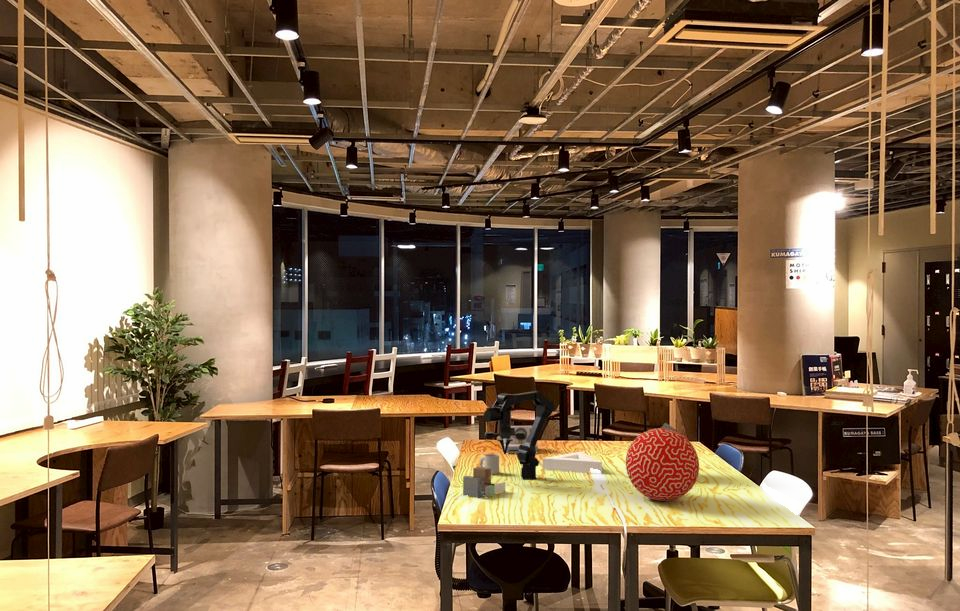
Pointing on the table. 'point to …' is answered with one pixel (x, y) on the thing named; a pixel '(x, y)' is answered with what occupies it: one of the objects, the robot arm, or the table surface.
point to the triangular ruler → (572, 462)
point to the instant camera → (517, 442)
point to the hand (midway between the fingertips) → (504, 454)
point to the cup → (491, 462)
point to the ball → (662, 464)
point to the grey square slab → (472, 486)
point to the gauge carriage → (483, 476)
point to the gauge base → (493, 489)
